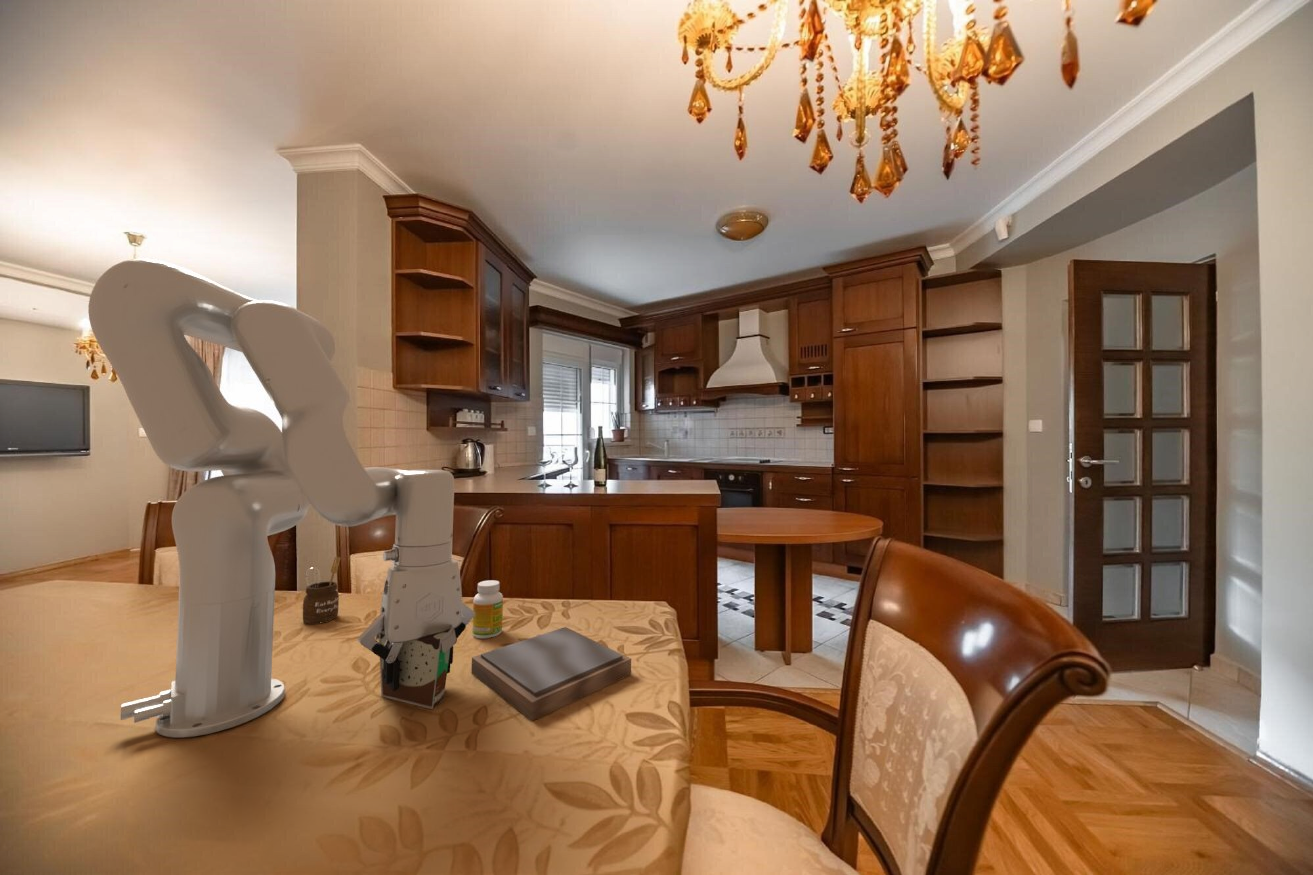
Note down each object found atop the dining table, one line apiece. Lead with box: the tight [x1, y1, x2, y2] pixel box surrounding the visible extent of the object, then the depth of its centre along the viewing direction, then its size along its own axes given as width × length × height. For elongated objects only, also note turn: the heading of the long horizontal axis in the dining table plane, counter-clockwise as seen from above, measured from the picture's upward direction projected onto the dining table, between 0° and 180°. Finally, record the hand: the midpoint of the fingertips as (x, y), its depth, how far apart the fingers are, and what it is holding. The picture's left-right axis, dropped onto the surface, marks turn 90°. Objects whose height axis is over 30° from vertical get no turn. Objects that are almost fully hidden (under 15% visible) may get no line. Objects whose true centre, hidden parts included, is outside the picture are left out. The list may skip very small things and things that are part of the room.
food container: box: [375, 625, 457, 710], centre depth 67 cm, size 12×6×10 cm, turn 72°
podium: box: [470, 626, 632, 722], centre depth 73 cm, size 18×18×3 cm
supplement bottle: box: [471, 579, 504, 640], centre depth 88 cm, size 5×5×10 cm
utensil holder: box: [302, 556, 341, 625], centre depth 94 cm, size 6×6×12 cm
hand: (419, 677), depth 66 cm, fingers closed on food container, 6 cm apart
